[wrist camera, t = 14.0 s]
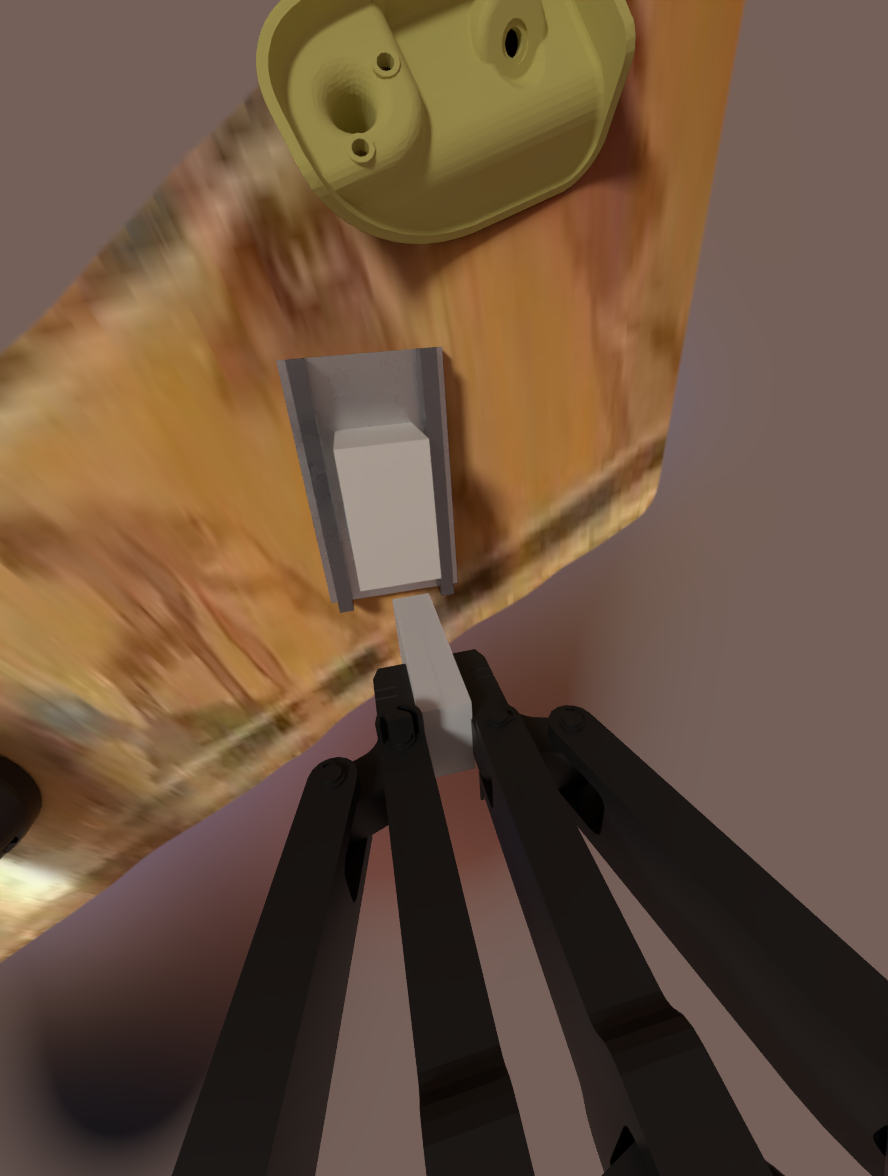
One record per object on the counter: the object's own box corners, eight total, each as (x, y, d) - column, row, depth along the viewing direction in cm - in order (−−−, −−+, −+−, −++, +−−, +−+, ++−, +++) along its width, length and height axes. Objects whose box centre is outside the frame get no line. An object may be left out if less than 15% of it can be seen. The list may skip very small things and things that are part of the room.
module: (356, 549, 39) (359, 591, 32) (334, 430, 34) (332, 450, 27) (424, 539, 40) (441, 578, 33) (412, 422, 35) (429, 438, 28)
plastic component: (569, -131, 23) (649, 56, 24) (530, 39, 30) (592, 178, 31) (221, 13, 22) (315, 204, 23) (268, 153, 29) (338, 295, 30)
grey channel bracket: (331, 597, 42) (331, 614, 39) (278, 360, 32) (272, 360, 29) (454, 577, 43) (462, 592, 41) (438, 346, 34) (447, 346, 31)
